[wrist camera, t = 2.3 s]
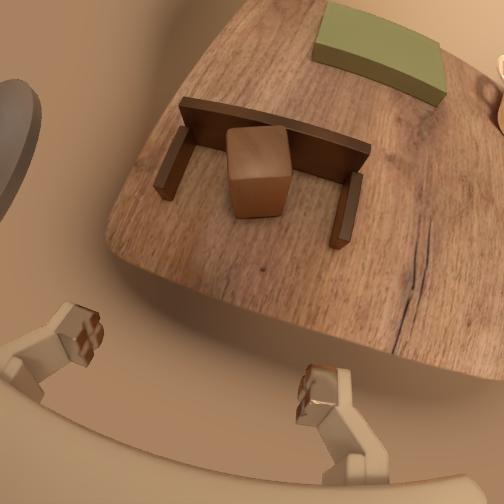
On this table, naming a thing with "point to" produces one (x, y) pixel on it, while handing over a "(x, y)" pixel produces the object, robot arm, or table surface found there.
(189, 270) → the table surface
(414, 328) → the table surface
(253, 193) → the wooden block
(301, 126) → the frame
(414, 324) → the table surface
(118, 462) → the robot arm
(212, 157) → the table surface
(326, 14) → the board
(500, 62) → the cup
